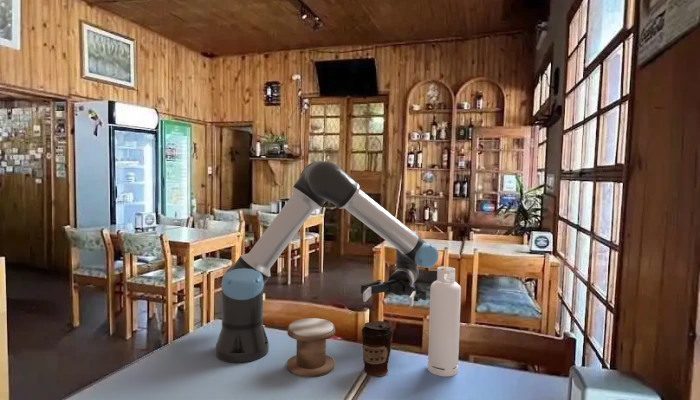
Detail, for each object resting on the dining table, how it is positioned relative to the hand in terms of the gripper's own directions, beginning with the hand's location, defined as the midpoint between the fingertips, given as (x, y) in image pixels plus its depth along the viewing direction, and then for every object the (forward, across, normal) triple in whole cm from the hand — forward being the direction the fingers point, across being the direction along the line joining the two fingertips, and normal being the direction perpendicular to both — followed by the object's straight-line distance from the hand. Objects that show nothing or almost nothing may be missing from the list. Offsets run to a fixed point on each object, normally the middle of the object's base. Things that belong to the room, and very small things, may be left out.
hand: (387, 299), depth 124 cm
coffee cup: (+10, 0, -17) cm, 20 cm away
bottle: (+2, -16, -17) cm, 24 cm away
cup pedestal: (+13, +18, -17) cm, 28 cm away
